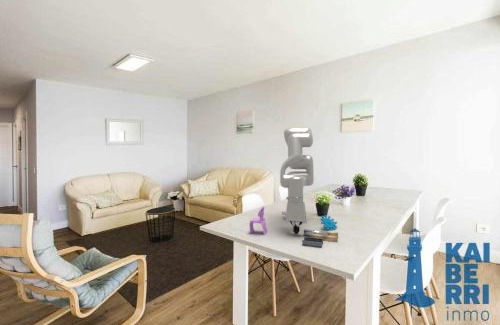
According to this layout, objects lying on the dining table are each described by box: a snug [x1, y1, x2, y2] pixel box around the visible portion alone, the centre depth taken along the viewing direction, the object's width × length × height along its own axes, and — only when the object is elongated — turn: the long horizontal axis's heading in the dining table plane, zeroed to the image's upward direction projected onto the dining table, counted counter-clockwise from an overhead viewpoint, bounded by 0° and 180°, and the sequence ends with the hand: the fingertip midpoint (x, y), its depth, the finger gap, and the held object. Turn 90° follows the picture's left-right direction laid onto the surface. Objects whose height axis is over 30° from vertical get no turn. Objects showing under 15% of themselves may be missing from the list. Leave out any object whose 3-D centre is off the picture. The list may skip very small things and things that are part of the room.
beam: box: [309, 231, 339, 243], centre depth 129 cm, size 13×8×3 cm, turn 68°
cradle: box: [301, 235, 324, 249], centre depth 121 cm, size 9×7×3 cm
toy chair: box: [249, 206, 269, 236], centre depth 140 cm, size 8×9×15 cm
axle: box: [303, 228, 329, 237], centre depth 131 cm, size 12×3×3 cm, turn 68°
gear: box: [319, 214, 338, 232], centre depth 145 cm, size 11×6×10 cm
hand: (296, 233), depth 135 cm, fingers closed
